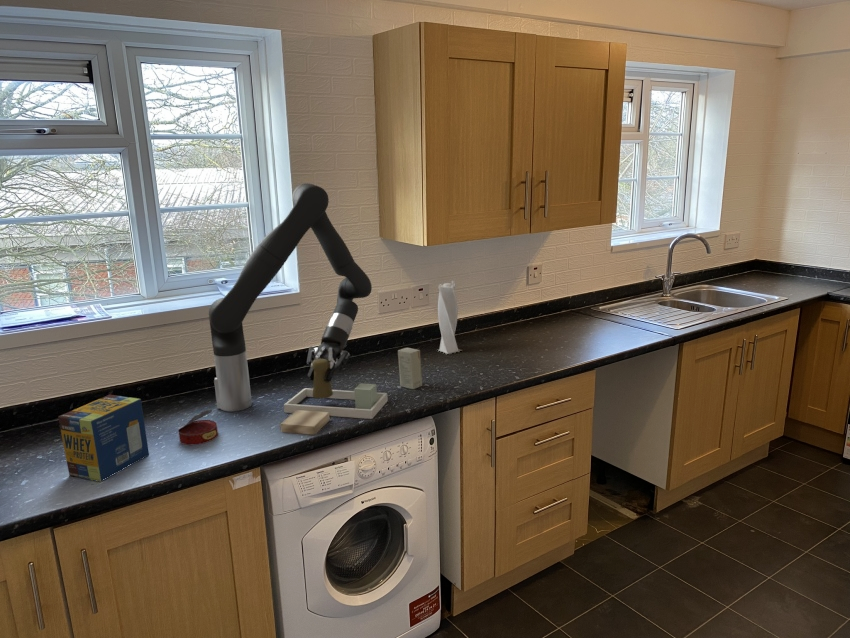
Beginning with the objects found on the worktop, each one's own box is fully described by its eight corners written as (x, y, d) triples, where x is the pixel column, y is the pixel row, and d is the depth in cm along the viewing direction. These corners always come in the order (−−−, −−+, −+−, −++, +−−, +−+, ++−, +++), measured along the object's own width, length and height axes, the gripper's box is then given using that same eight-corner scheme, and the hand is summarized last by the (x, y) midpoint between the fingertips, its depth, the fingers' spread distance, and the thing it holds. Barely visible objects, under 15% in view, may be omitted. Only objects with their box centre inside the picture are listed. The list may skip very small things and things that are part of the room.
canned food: (191, 461, 165) (168, 435, 160) (188, 443, 174) (166, 418, 169) (228, 436, 167) (207, 410, 162) (223, 419, 176) (203, 394, 171)
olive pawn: (323, 389, 191) (321, 355, 188) (337, 393, 187) (334, 358, 185) (308, 395, 187) (305, 360, 184) (321, 399, 183) (319, 364, 180)
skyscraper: (464, 352, 236) (463, 279, 229) (447, 356, 232) (445, 282, 225) (451, 347, 243) (449, 276, 236) (434, 351, 239) (432, 279, 232)
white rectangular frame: (284, 412, 184) (283, 404, 183) (305, 395, 197) (304, 388, 196) (372, 418, 177) (371, 410, 176) (387, 401, 190) (387, 393, 189)
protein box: (68, 476, 149) (56, 416, 145) (119, 449, 163) (110, 393, 159) (100, 483, 145) (89, 421, 142) (150, 454, 159) (141, 397, 156)
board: (281, 431, 170) (280, 423, 169) (297, 417, 179) (296, 409, 179) (314, 434, 167) (314, 426, 167) (329, 420, 177) (329, 412, 176)
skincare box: (422, 386, 201) (421, 350, 198) (413, 390, 198) (411, 353, 195) (408, 382, 206) (406, 346, 203) (399, 385, 203) (397, 349, 200)
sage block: (355, 411, 183) (354, 389, 181) (361, 405, 187) (360, 383, 186) (371, 412, 181) (370, 390, 180) (377, 406, 186) (376, 384, 184)
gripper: (312, 323, 192) (292, 371, 184) (352, 327, 186) (333, 377, 178) (323, 335, 198) (303, 383, 190) (362, 339, 192) (344, 389, 184)
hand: (318, 380), depth 184 cm, fingers closed on olive pawn, 5 cm apart
